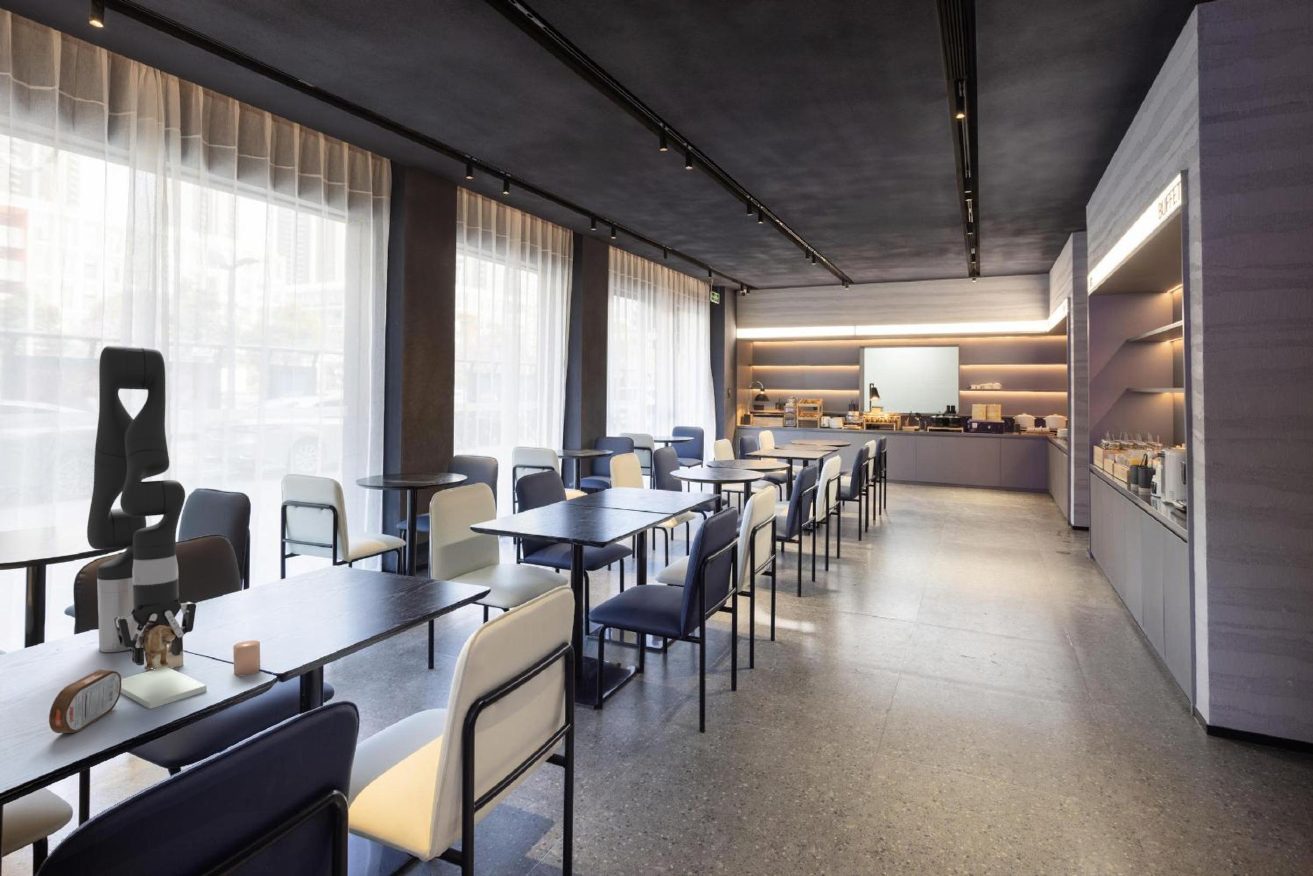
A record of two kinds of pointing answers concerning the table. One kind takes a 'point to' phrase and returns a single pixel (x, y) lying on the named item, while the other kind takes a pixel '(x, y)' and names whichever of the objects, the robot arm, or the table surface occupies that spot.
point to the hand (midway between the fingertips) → (158, 659)
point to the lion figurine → (157, 644)
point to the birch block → (168, 660)
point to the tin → (85, 701)
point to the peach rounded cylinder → (246, 657)
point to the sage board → (160, 687)
